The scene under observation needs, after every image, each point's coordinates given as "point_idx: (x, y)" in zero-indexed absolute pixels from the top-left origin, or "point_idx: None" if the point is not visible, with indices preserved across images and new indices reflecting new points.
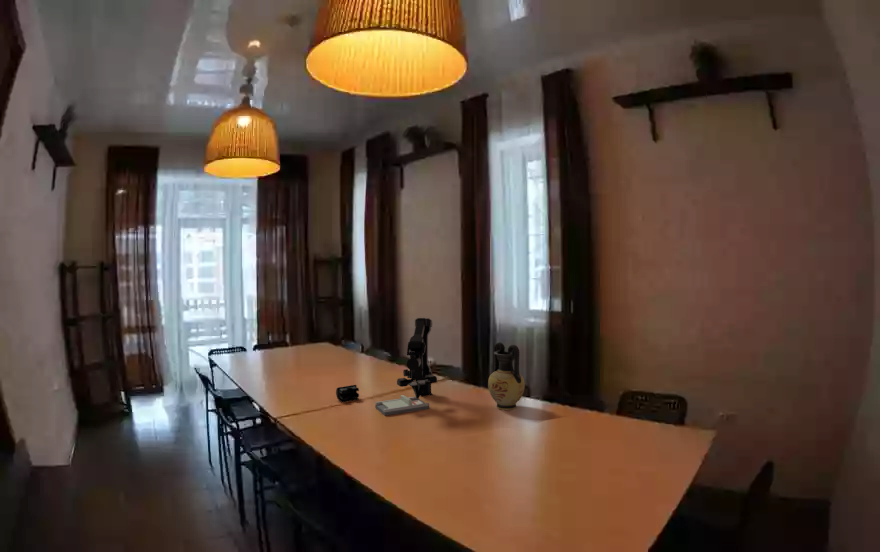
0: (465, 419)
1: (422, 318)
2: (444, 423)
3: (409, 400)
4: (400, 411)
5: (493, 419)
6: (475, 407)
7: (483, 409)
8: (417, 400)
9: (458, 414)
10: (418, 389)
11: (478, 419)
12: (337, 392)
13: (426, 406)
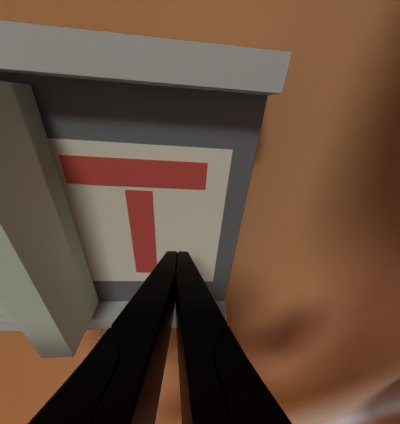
0: None
1: None
2: (180, 399)
3: (47, 350)
4: None
5: (311, 404)
6: (392, 339)
7: (383, 359)
8: (216, 153)
9: (272, 368)
10: (183, 417)
11: (282, 399)
12: None
13: None
